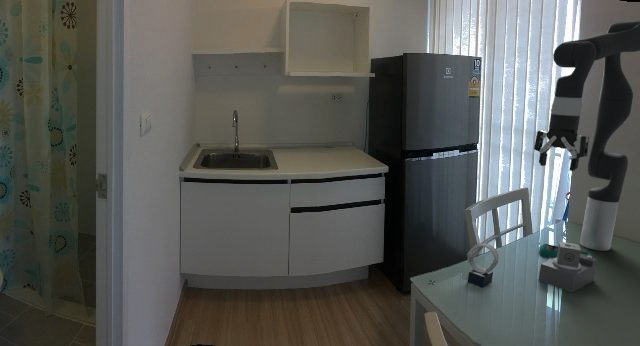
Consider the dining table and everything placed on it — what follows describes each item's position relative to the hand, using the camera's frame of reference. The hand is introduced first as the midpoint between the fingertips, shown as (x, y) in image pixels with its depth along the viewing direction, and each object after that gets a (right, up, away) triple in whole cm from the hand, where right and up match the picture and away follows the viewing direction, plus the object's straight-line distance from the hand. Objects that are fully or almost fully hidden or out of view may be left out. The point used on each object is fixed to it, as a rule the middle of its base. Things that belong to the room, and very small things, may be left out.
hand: (557, 168), depth 135 cm
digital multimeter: (+9, -30, +12) cm, 33 cm away
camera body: (-1, -32, -6) cm, 33 cm away
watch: (-27, -32, -10) cm, 43 cm away
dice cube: (-2, -27, -9) cm, 28 cm away
